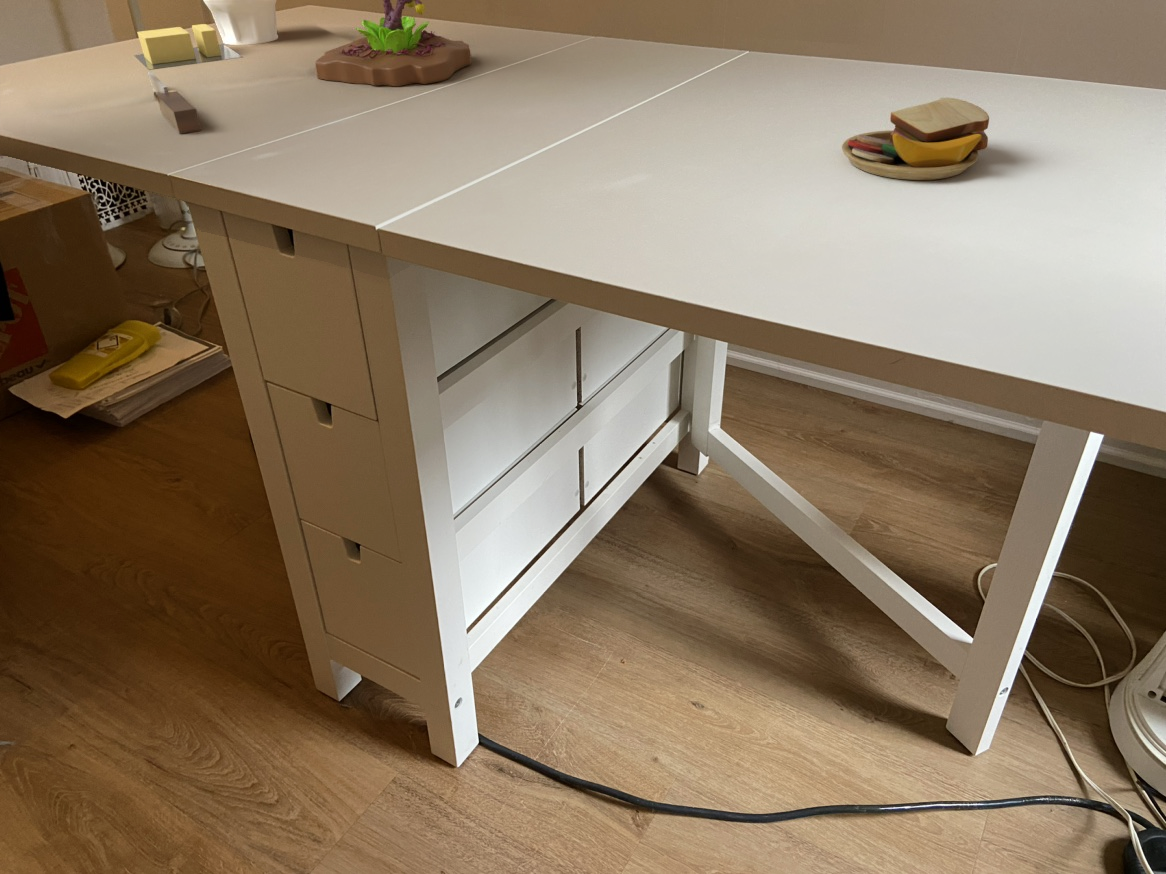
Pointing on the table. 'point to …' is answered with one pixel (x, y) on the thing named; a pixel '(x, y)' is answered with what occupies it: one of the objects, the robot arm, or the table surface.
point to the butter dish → (200, 58)
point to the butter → (166, 45)
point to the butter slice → (206, 40)
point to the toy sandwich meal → (923, 142)
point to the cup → (244, 20)
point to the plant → (394, 53)
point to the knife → (175, 107)
